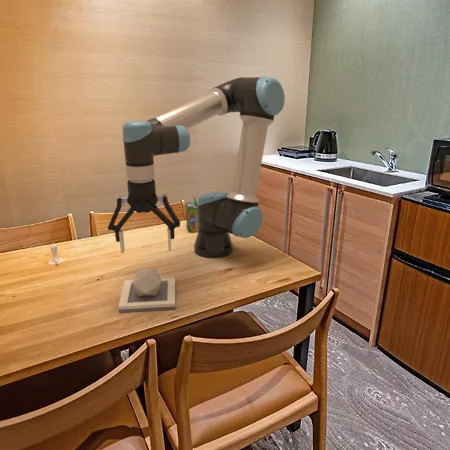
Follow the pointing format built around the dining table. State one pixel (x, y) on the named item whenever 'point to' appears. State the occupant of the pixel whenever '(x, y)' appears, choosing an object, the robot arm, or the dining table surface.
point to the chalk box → (192, 216)
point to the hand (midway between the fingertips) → (146, 250)
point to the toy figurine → (55, 261)
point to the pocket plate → (148, 298)
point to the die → (147, 282)
